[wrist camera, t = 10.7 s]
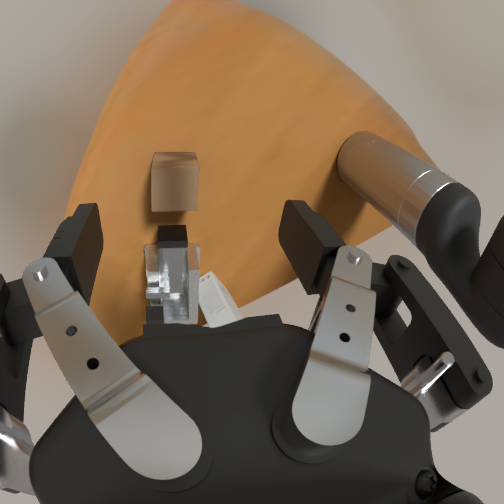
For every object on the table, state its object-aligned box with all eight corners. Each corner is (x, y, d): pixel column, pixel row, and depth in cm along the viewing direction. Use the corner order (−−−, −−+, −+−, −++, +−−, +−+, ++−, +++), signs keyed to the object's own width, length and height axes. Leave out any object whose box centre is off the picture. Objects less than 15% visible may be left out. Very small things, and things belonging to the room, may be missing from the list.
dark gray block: (163, 305, 37) (163, 320, 35) (163, 309, 37) (164, 324, 35) (146, 306, 36) (146, 320, 34) (147, 310, 37) (147, 324, 35)
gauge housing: (199, 242, 40) (204, 269, 35) (196, 295, 46) (201, 323, 42) (144, 244, 38) (142, 272, 33) (150, 298, 44) (150, 326, 39)
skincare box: (189, 284, 44) (213, 344, 35) (212, 268, 44) (240, 327, 35) (208, 301, 48) (233, 357, 40) (229, 287, 48) (258, 342, 40)
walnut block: (195, 152, 32) (199, 168, 27) (192, 188, 35) (196, 210, 30) (154, 152, 30) (151, 168, 26) (154, 189, 33) (151, 211, 29)
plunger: (185, 225, 35) (189, 250, 31) (184, 279, 41) (188, 307, 37) (143, 226, 34) (140, 252, 29) (148, 280, 39) (147, 308, 35)
